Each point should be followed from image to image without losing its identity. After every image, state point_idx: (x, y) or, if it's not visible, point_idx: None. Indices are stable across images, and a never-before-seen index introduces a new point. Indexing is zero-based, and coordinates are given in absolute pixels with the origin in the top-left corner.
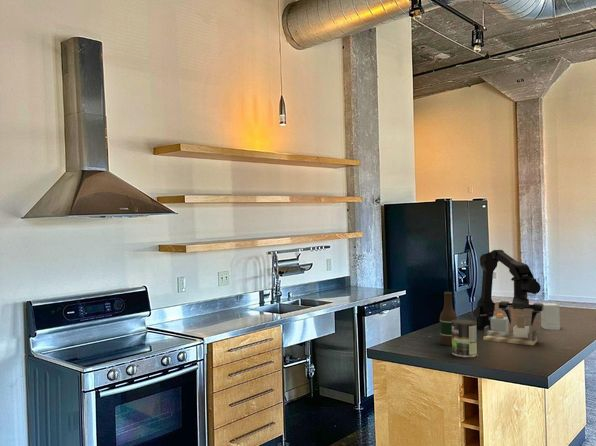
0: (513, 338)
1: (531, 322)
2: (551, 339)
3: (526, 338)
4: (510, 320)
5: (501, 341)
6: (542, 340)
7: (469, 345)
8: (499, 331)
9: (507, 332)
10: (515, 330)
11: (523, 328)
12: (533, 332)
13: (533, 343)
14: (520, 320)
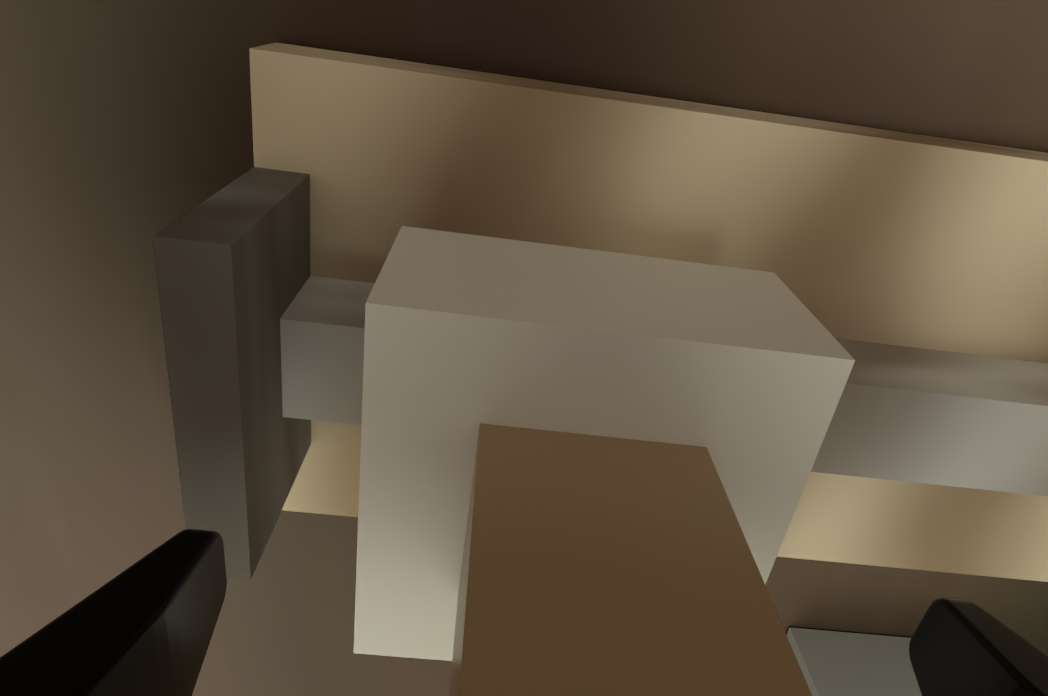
0: None
1: (142, 608)
2: None
3: None
4: (1037, 691)
5: (976, 146)
6: None
7: None
8: (916, 692)
9: (872, 462)
10: (747, 311)
11: (498, 325)
12: (183, 233)
13: (272, 49)
14: (636, 653)
